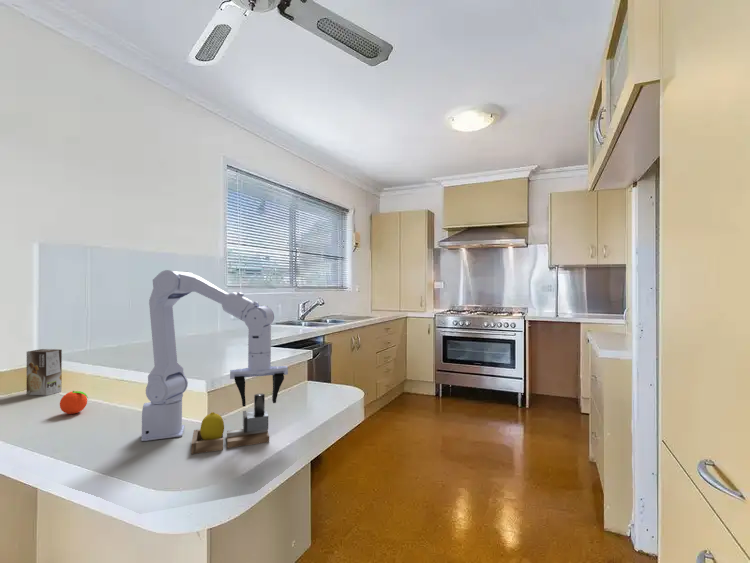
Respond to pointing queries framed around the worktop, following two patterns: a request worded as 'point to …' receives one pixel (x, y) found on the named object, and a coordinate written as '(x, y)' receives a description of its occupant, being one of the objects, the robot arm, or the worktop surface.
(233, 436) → the press bed
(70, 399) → the clementine
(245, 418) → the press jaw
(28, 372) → the coffee box
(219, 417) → the lemon
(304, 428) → the worktop surface
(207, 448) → the lemon cradle
